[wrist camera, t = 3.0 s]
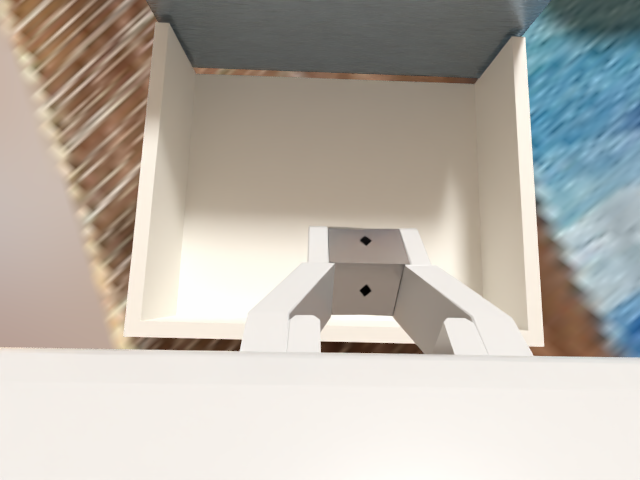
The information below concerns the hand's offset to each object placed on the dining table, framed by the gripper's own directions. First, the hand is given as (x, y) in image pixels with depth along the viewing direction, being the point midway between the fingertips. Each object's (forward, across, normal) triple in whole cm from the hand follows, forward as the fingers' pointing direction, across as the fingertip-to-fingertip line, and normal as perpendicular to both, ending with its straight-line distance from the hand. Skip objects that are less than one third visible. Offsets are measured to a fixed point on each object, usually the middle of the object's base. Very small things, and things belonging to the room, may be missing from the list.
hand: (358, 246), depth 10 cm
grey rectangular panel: (+21, 0, -1) cm, 21 cm away
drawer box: (+15, 0, +8) cm, 17 cm away
